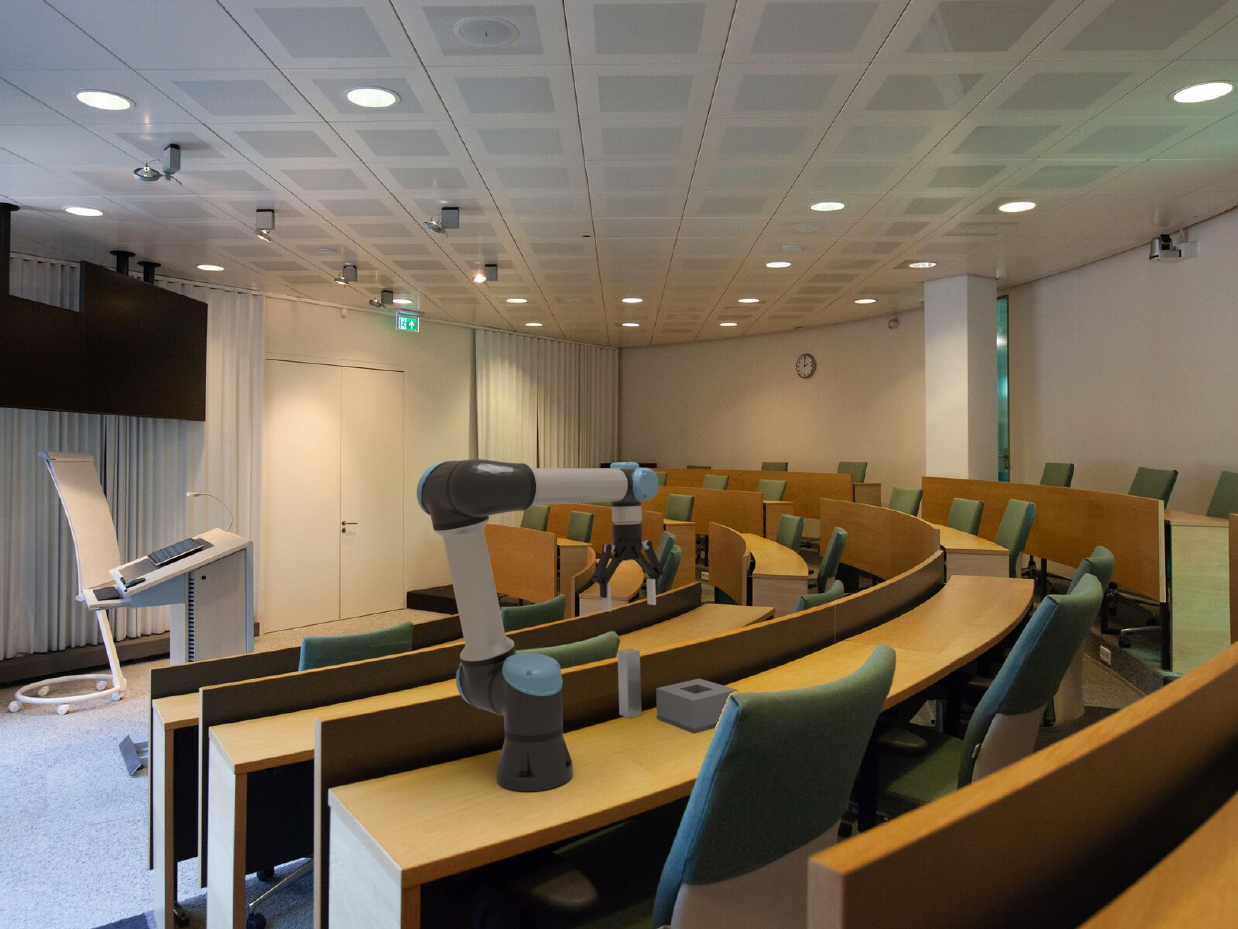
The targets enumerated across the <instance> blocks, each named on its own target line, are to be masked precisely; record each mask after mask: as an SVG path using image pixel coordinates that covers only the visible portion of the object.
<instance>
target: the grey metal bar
mask: <svg viewBox="0 0 1238 929" xmlns="http://www.w3.org/2000/svg"><path fill="white" fill-rule="evenodd" d="M617 674H618V675H617V676H618V679H617V680H618V710H619V711H618V714H619V715H620V716H622V717H624V718H627V719H633V718H635V717H640V716H642V715H643V713H642V684H641V682H642V681H641V652H640V650H638V649H633V648H627V649H619V650H617ZM639 715H640V716H639Z"/></svg>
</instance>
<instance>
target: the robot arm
mask: <svg viewBox="0 0 1238 929" xmlns="http://www.w3.org/2000/svg"><path fill="white" fill-rule="evenodd" d="M416 487H417V488H416V499H417V502H418V505H419V507H420V508H421V510H423V512H425V514H427V515H428V516H430V520H431V523H432V529H433V532H435V533H436V534H438V535H439V536H441V537H442V540H443V543H444V549H445V553H446V558H447V564H448V567H449V568H448V569H449V573H450V577H451V583H452V587H453V592H454V596H455V597H454V598H455V603H456V607H457V612H458V616H459V621H460V625H461V630H462V635H463V640H464V648H463V649H462V650H461V652H460V653H459V657H460V663H459V664H458V666H459V667H458V669H457V670H456V674H455V683H456V689H457V691H458V693H459V695H460V696H461V698H462V699H463V700H464V701H465V702H466V703H468V704H469V705H471V706H472V707H474V708H477V709H479V710H482V711H487V712H489V713H492V714H496V715H498V716H500V717H503V719H504V722H503V723H504V725H503V726H504V742H503V745H502V749H501V751H500V755H499V759H498V763H497V766H496V781H497V783H498V784H499V786H501V788H502V787H503V788H504V789H506V790H507V789H508V790H512V791H517V792H518V791H519V792H540V791H546V790H551V789H554V788H557V787H560V786H562V785H565V784H566V783H568V782H569V781H570V780H571V779H572V778H573V775H574V769H573V768H574V767H573V761H572V758H571V754H570V751H569V749H568V745H567V744H566V743H567V742H566V739H565V737H564V723H563V722H564V719H563V717H564V716H563V714H564V712H563V709H564V708H563V704H564V703H563V682H564V681H563V677H562V669H561V664H560V663H559V662H558V661H557V660H556V659H555V658H553V657H551V656H550V655H546V654H542V653H532V652H524V653H523V652H522V653H517V650H516V646H515V642H514V640H513V639H511V638H510V637H508V636H506V632H505V628H504V622H503V619H502V614H501V612H502V611H501V608H500V603H499V598H498V592H497V588H496V583H495V578H494V573H493V568H492V563H491V559H490V551H489V548H488V543H487V539H486V532H485V527H486V525H487V524H488V522H489V521H490V516H494V515H498V514H499V515H500V514H505V513H510V512H511V513H512V512H519V511H521V512H522V511H523V512H524V511H527V510H530V508H532V507H533V506H539V505H540V506H544V505H565V504H567V505H568V504H569V505H570V504H586V503H587V504H588V503H591V504H592V503H611V521H612V523H614V524H612V527H611V528H612V529H611V531H612V539H613V544H610V543H603V544H602V546H601V547H602V549H601V555H600V557H599V560H598V563H597V565H596V568H595V570H594V573H593V576H592V579H591V581H592V582H593V583H597V584H598V586H599V596H600V598H601V599H602V611H605V612H612V591H611V590H612V588H611V587H612V586H611V584H608V583H609V582H610V581H611V579H612V577H613V575H614V574H615V573H616V570H617V569H618V568H619V565H620V564H622V562H626V561H637V563H638V565H639V566H640V567H641V569H642V570H643V571H644V572H645V573H646V575H647V576H648V578H646V600H647V605H652V606H656V605H657V597H656V596H657V595H656V593H657V592H658V580H659V579H660V578H661V576H663V575H664V574H665V572H664V570H663V568H662V566H661V563H660V561H659V559H658V557H657V555H656V552H655V550H654V546H653V541H652V540H647V539H646V540H643V541H642V538H643V524H642V523H640V522H642V520H643V517H642V516H643V514H642V512H643V511H642V502H644V501H645V502H646V501H650V500H652V499H653V498H655V497H656V495H657V494H658V490H659V478H658V476H657V474H656V472H655V471H654V470H653V469H651V468H649V467H640V464H639V463H637V462H636V461H628V462H627V461H624V462H621V461H620V462H612V463H611V464H610V466H609V468H608V467H607V468H606V467H605V468H601V467H599V468H591V467H589V468H588V467H587V468H583V467H582V468H581V467H579V468H578V467H577V468H576V467H575V468H574V467H573V468H566V467H565V468H562V467H559V468H558V467H557V468H556V467H555V468H554V467H553V468H549V467H545V468H544V467H543V468H542V467H539V468H538V467H537V468H536V467H535V468H534V467H533V468H532V467H531V465H529V464H527V463H524V462H521V463H520V462H519V463H518V462H516V463H515V462H506V461H497V460H490V459H481V458H480V459H479V458H473V459H462V460H445V461H443V462H438V463H435V464H433V465H432V466H430V467H428V468H427V469H426V470H425V471H424V472H423V473H422V475H421V477H420V478H419V480H418V483H417V486H416ZM642 549H643V551H644V553H645V555H646V556H645V555H644V554H643V552H642ZM613 552H614V553H613ZM612 553H613V555H612ZM645 557H646V558H647V559H648V560H647V559H646V558H645ZM610 559H611V560H610ZM609 561H610V562H609Z"/></svg>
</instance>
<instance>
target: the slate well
mask: <svg viewBox="0 0 1238 929" xmlns="http://www.w3.org/2000/svg"><path fill="white" fill-rule="evenodd" d="M734 691H737V692H738V689H736V688H733V687H729V686H726V685H723V684H719V683H717V682H712V681H708V680H705V679H701V678H696V679H695V678H694V679H692V680H691V679H690V680H687V681H681V682H678V683H673V684H669V685H665V686H660V687H657V688H655V695H656V697H655V699H656V700H655V701H656V720H658V721H661V722H663V723H667V724H669V725H671V726H674V727H676V728H679V729H682V730H684V731H688V732H690V733H692V734H697V732H698V733H701V732H705V731H708V730H712V729H715V726H716V724H717V722H718V721H719V717H720V715H721V713H722V709H723V708H724V705H725V704H726V700H727V698H728V696H729V694H730V693H732V692H734Z"/></svg>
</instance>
